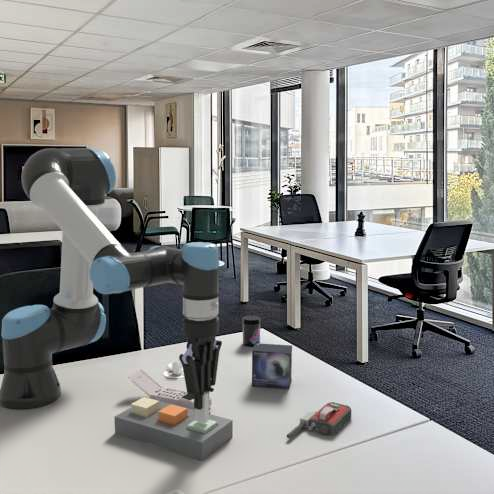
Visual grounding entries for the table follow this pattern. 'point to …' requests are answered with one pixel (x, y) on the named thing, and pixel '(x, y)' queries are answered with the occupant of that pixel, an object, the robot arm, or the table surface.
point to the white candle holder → (174, 368)
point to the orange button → (172, 414)
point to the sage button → (202, 426)
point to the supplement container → (251, 330)
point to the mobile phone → (163, 391)
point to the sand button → (145, 407)
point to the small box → (272, 365)
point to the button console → (174, 432)
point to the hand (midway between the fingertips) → (201, 420)
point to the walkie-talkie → (325, 419)
